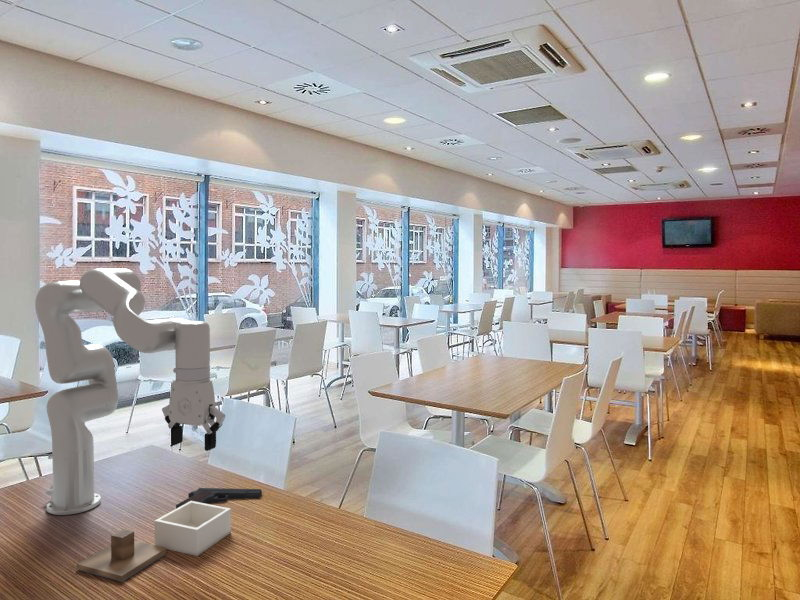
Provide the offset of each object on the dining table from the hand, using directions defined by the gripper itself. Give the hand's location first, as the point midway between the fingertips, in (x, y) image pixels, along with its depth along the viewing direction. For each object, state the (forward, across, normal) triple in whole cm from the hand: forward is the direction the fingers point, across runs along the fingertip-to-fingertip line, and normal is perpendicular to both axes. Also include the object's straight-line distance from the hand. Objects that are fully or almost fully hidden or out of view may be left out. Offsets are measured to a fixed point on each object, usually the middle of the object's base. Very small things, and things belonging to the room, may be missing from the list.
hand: (193, 446), depth 132 cm
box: (+22, 0, 0) cm, 22 cm away
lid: (+22, -7, -14) cm, 27 cm away
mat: (+22, -7, -14) cm, 27 cm away
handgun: (+23, -8, +20) cm, 31 cm away
